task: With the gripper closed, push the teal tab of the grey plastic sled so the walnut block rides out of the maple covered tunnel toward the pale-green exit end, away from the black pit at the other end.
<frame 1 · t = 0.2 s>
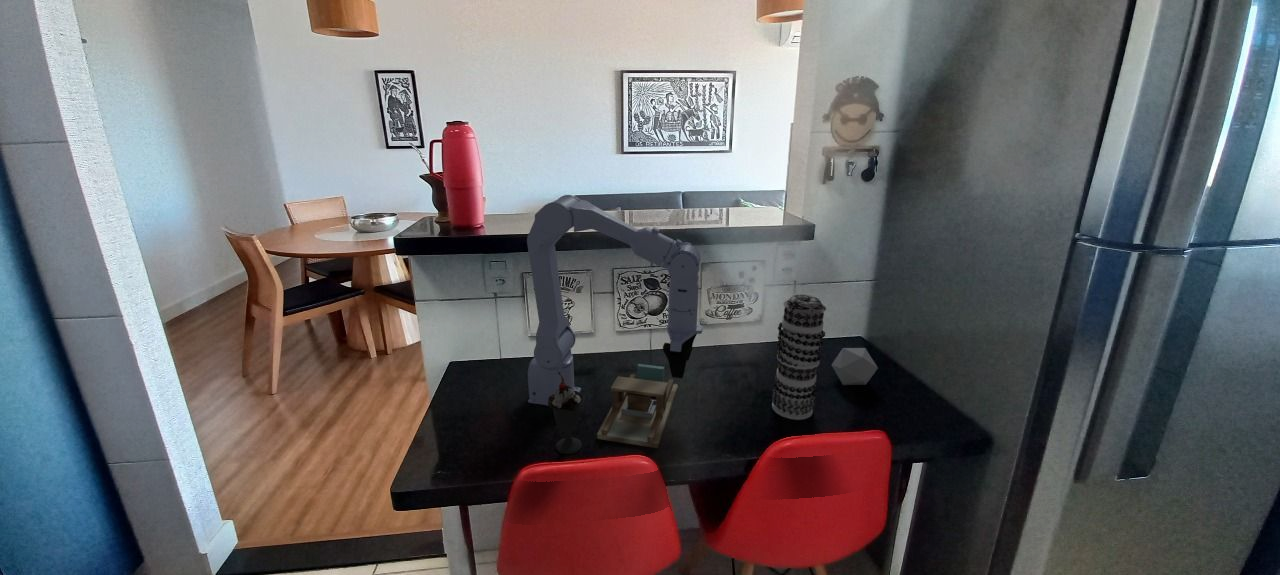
hand: (680, 367, 103), 10 cm above the counter, fingers open, 7 cm apart
sled: (644, 389, 108), point 3 cm above the counter, slide at 0.0 cm, touching walnut block
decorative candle: (791, 409, 107), on the counter
tunnel board: (640, 411, 106), on the counter
die: (851, 382, 118), on the counter
sundae: (568, 446, 95), on the counter
walnut block: (639, 407, 104), point 2 cm above the counter, touching sled
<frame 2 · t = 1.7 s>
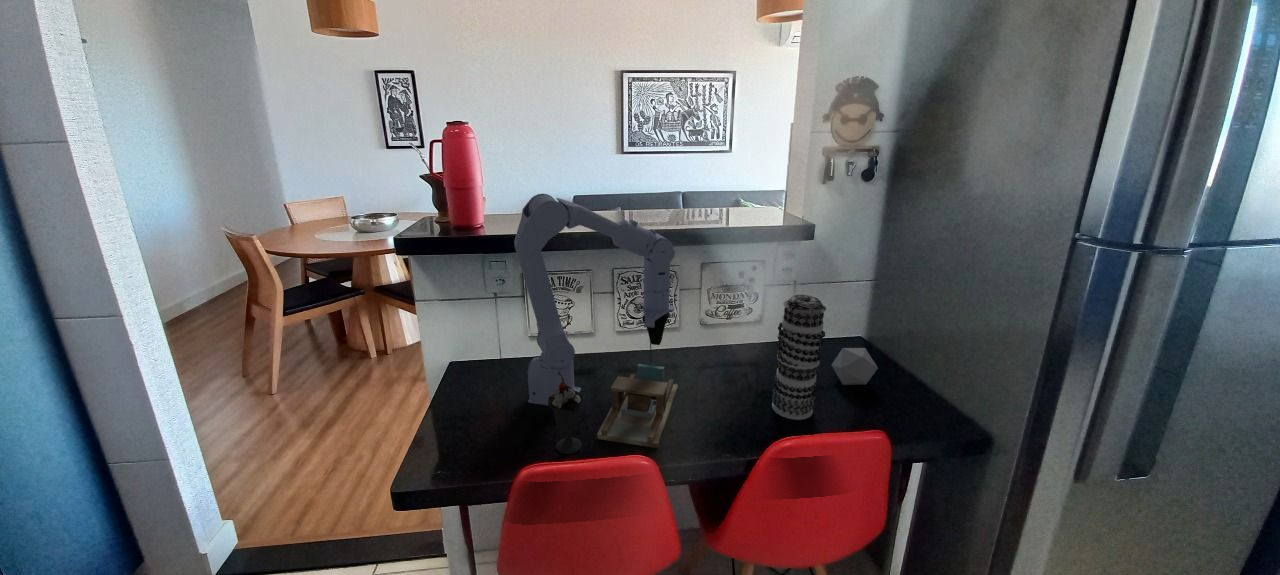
hand: (655, 343, 116), 9 cm above the counter, fingers closed
nothing on the counter moved.
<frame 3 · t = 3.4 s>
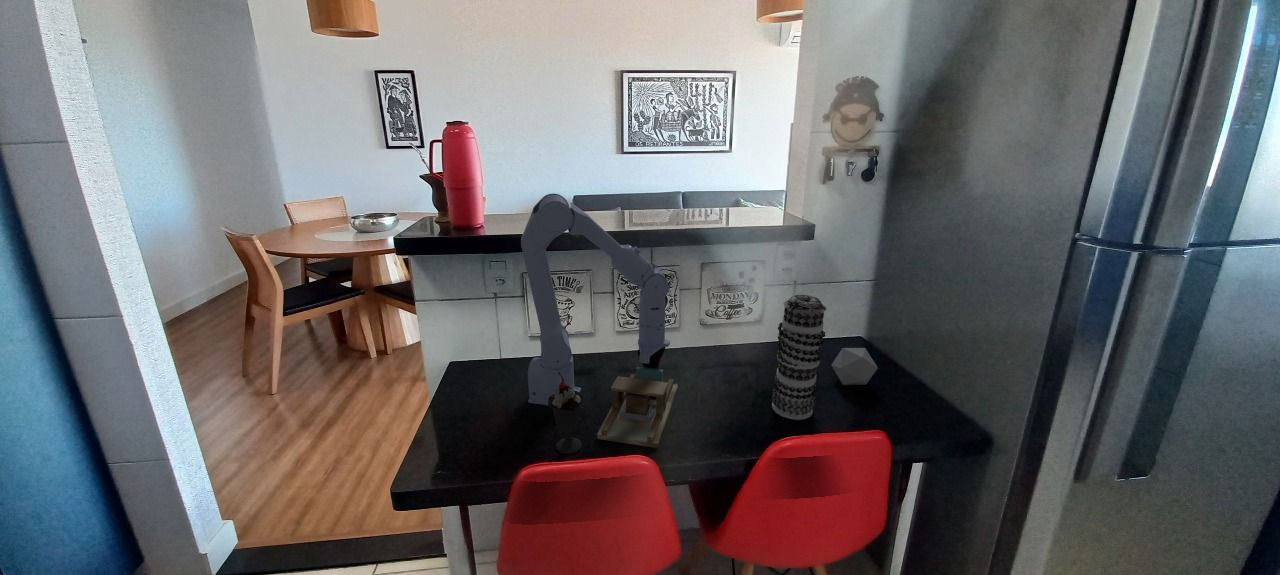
hand: (651, 377, 114), 3 cm above the counter, fingers closed
sled: (642, 392, 106), point 3 cm above the counter, slide at 1.3 cm, touching gripper, walnut block
walnut block: (638, 410, 103), point 2 cm above the counter, touching sled
everything else where it was.
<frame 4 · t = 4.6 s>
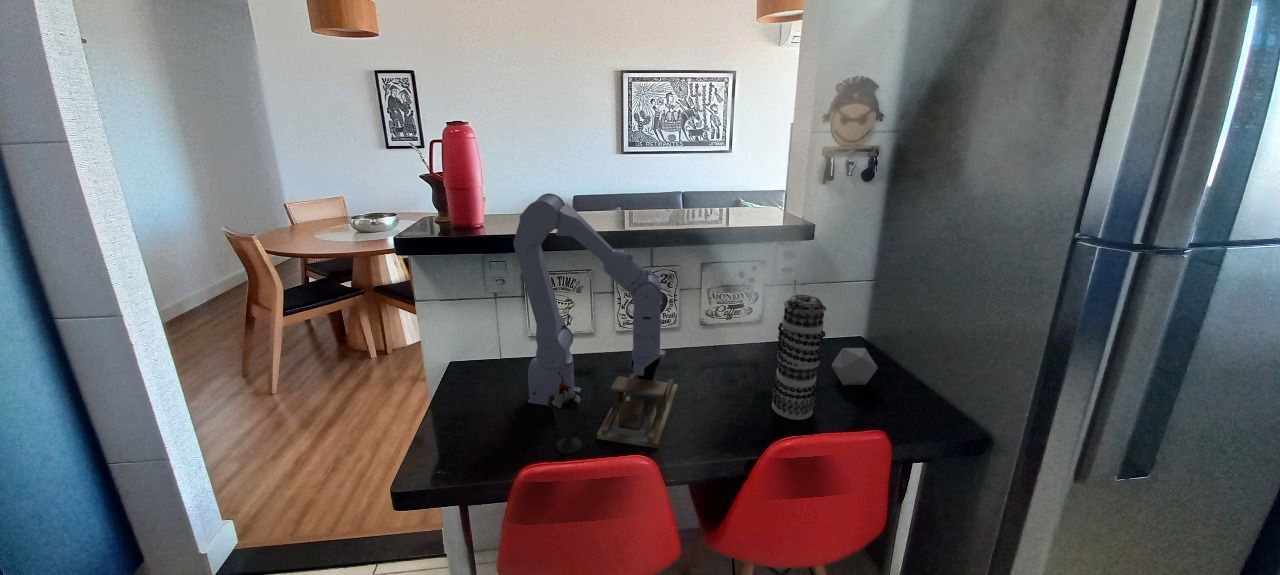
hand: (646, 388, 110), 3 cm above the counter, fingers closed
sled: (636, 406, 102), point 3 cm above the counter, slide at 6.4 cm, touching gripper, walnut block
walnut block: (631, 425, 98), point 2 cm above the counter, touching sled
everything else where it was.
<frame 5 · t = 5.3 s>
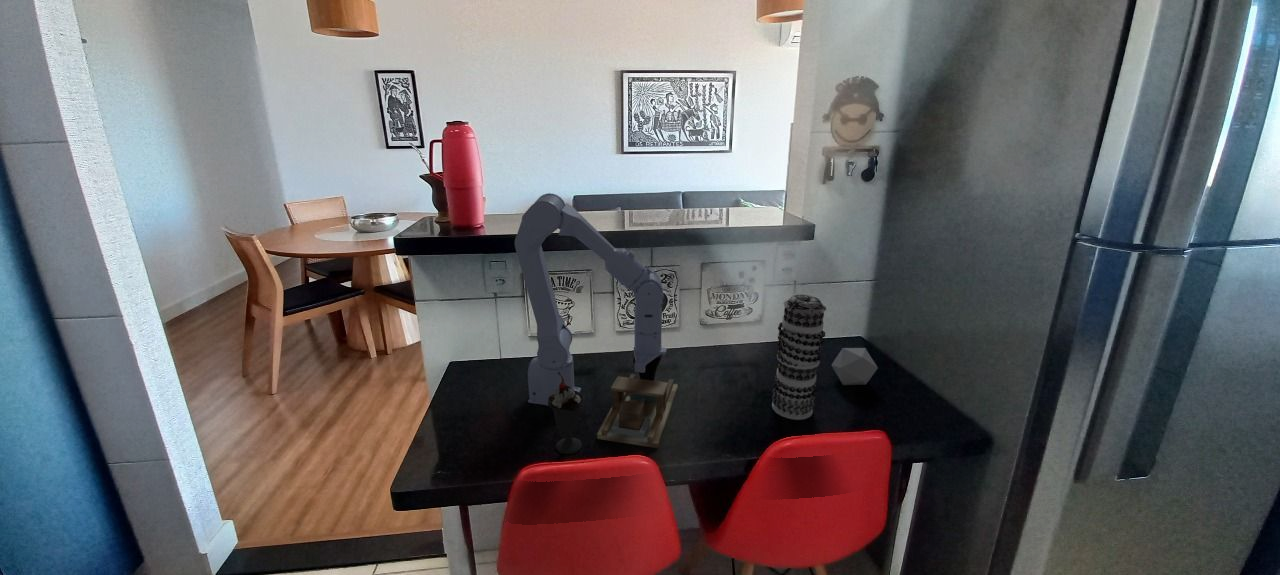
hand: (647, 385, 111), 3 cm above the counter, fingers closed
sled: (636, 406, 102), point 3 cm above the counter, slide at 6.4 cm, touching walnut block
everything else where it was.
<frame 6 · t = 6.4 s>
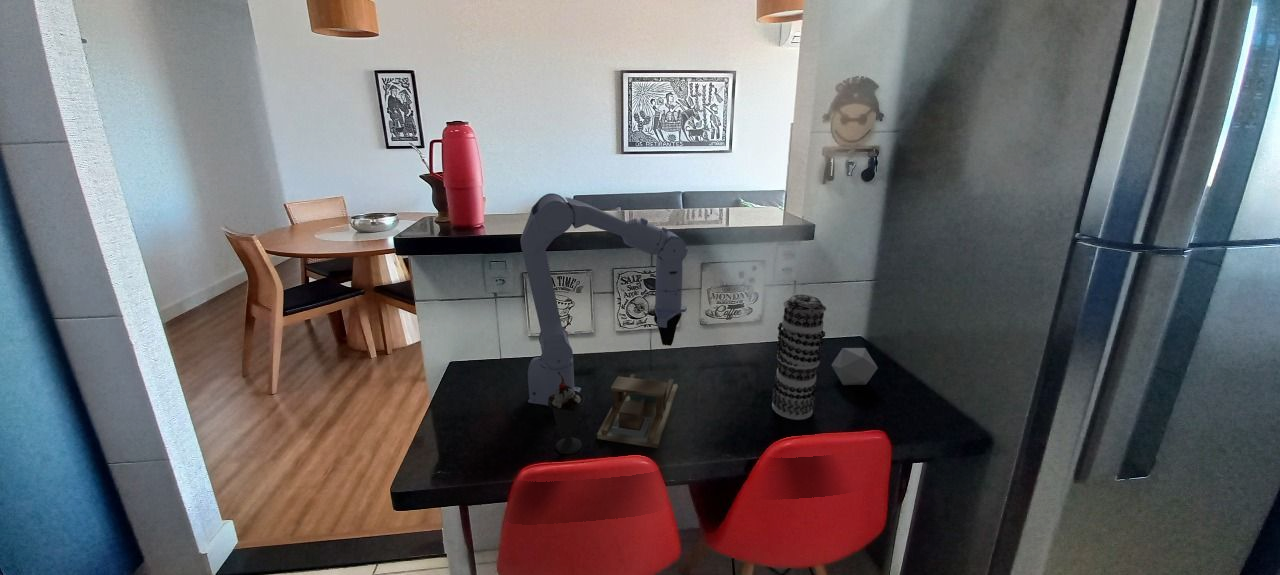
hand: (667, 344, 114), 10 cm above the counter, fingers closed
nothing on the counter moved.
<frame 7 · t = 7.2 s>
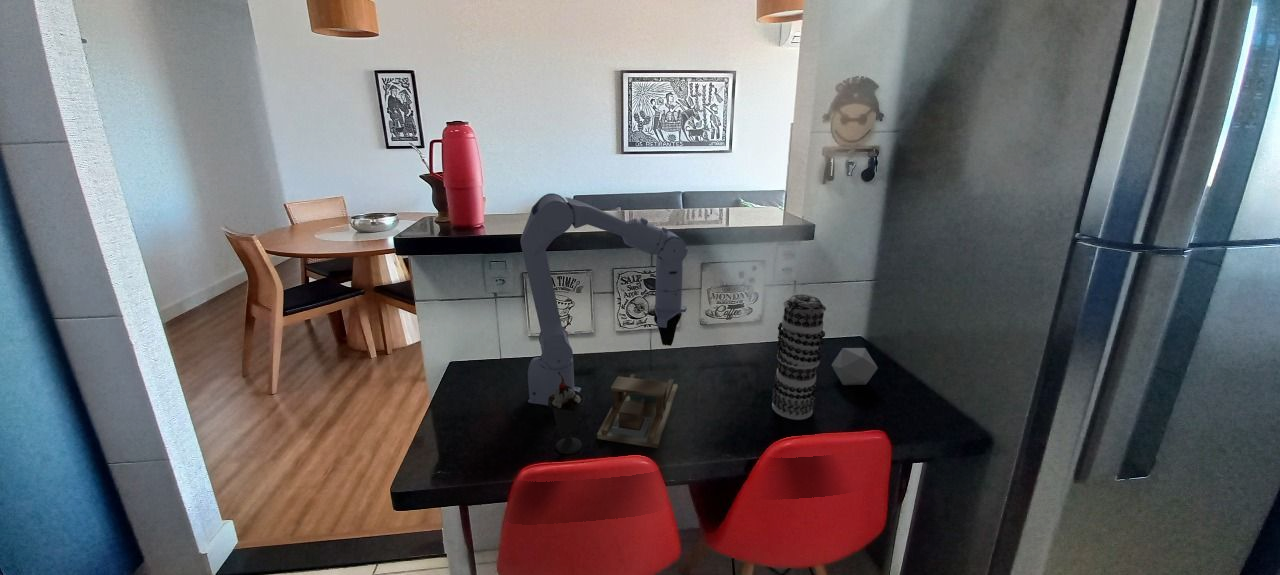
hand: (667, 344, 114), 10 cm above the counter, fingers closed
nothing on the counter moved.
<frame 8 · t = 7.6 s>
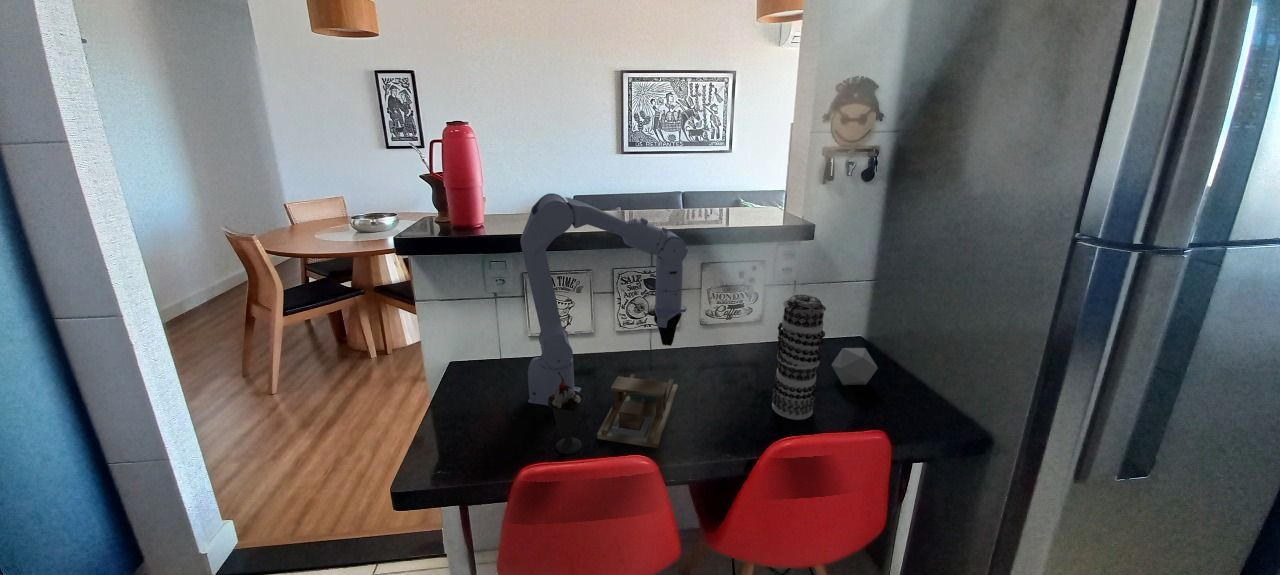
hand: (667, 344, 114), 10 cm above the counter, fingers closed
nothing on the counter moved.
at the end: sled slide at 6.4 cm; walnut block inside the target area (1.2 cm from its centre), point 1.7 cm above the counter; walnut block tilted 0° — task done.
